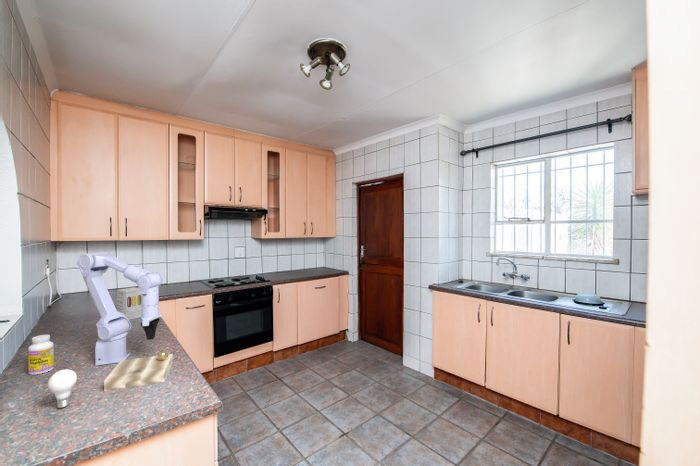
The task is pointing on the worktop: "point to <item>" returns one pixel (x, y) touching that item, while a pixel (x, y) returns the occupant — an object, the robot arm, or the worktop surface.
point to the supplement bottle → (40, 355)
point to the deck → (150, 373)
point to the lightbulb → (62, 386)
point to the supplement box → (129, 302)
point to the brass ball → (162, 355)
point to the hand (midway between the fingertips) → (150, 338)
